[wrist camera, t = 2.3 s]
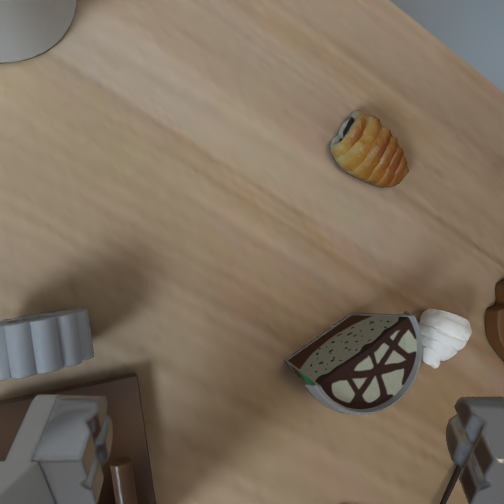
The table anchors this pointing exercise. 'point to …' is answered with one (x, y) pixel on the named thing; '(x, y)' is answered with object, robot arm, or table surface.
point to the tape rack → (123, 445)
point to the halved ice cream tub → (361, 362)
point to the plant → (496, 321)
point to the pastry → (369, 151)
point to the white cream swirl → (442, 335)
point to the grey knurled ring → (44, 343)
